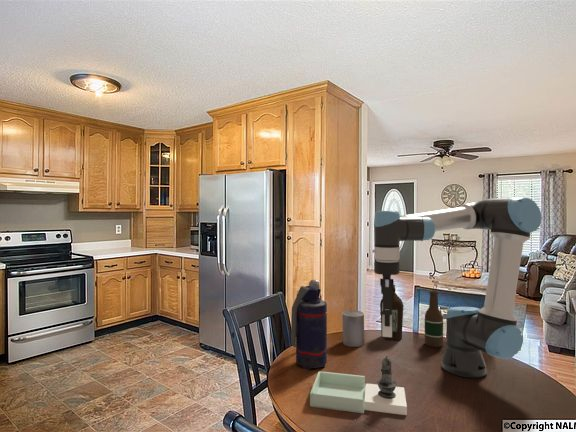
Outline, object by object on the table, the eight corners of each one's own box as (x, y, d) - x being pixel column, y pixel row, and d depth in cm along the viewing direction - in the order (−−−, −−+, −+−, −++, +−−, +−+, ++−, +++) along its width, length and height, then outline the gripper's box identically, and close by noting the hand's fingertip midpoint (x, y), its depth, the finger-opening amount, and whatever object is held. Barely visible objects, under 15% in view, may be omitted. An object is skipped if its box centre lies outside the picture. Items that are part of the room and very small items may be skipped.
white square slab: (404, 395, 117) (404, 387, 117) (406, 415, 105) (406, 406, 105) (365, 390, 119) (365, 383, 119) (364, 409, 108) (364, 401, 108)
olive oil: (383, 332, 179) (383, 281, 179) (405, 336, 174) (405, 283, 173) (377, 339, 169) (377, 285, 169) (400, 342, 164) (400, 287, 164)
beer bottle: (444, 343, 163) (444, 290, 163) (441, 348, 157) (441, 293, 157) (426, 340, 168) (426, 288, 167) (422, 345, 161) (422, 291, 161)
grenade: (318, 356, 148) (318, 283, 148) (332, 368, 137) (332, 288, 137) (286, 361, 143) (286, 285, 143) (298, 373, 132) (298, 291, 132)
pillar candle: (352, 338, 171) (351, 306, 171) (369, 343, 163) (368, 310, 163) (338, 343, 165) (337, 310, 164) (354, 349, 157) (354, 314, 157)
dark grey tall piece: (393, 389, 115) (393, 351, 115) (399, 399, 109) (399, 359, 109) (374, 389, 115) (374, 352, 115) (379, 399, 109) (379, 359, 109)
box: (366, 388, 121) (366, 376, 121) (364, 413, 106) (364, 399, 106) (318, 382, 125) (318, 371, 125) (310, 406, 110) (310, 393, 110)
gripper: (375, 255, 125) (375, 317, 125) (373, 265, 101) (373, 342, 101) (397, 256, 123) (398, 319, 123) (401, 266, 99) (401, 344, 99)
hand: (386, 329), depth 112 cm, fingers open, 13 cm apart
